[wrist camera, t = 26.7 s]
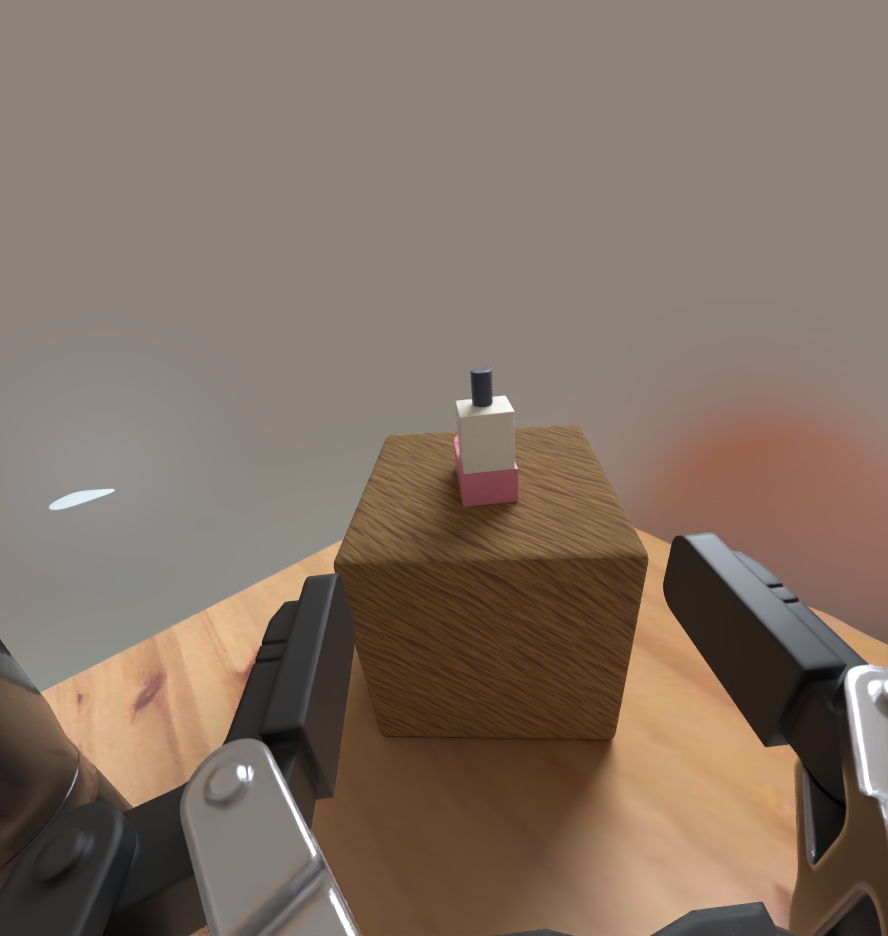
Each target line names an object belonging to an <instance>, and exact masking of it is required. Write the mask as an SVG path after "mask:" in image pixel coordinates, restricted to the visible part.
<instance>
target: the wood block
mask: <svg viewBox="0 0 888 936" xmlns="http://www.w3.org/2000/svg"><path fill="white" fill-rule="evenodd" d="M457 435H458V432H443V433H426V434H425V433H424V434H407V435H406V434H405V435H390V436H388V437H387V438H386V440H385V442H384V445H383V447H382V450H381V452H380V454H379V456H378V459H377V461H376V464H375V466H374V468H373V471H372V473H371V476H370V478H369V480H368V483H367V485H366V487H365V490H364V492H363V494H362V497H361V499H360V502H359V504H358V506H357V509H356V511H355V513H354V516H353V518H352V520H351V523H350V525H349V528H348V530H347V532H346V535H345V537H344V539H343V542H342V544H341V547H340V549H339V551H338V554H337V556H336V558H335V561H334V570H335V573H340V574H341V576H342V578H343V582H344V585H345V589H346V593H347V596H348V600H349V604H350V607H351V611H352V615H353V619H354V626H355V645H356V648H357V652H358V655H359V659H360V662H361V666H362V669H363V673H364V677H365V680H366V684H367V687H368V691H369V694H370V698H371V701H372V705H373V708H374V712H375V716H376V719H377V723H378V726H379V730H380V732H381V734H382V735H385V736H430V737H491V738H553V739H612V738H614V736H615V733H616V728H617V723H618V718H619V712H620V707H621V702H622V697H623V692H624V686H625V681H626V676H627V671H628V665H629V660H630V655H631V650H632V644H633V639H634V634H635V629H636V624H637V618H638V613H639V608H640V603H641V597H642V592H643V587H644V582H645V576H646V571H647V566H648V554H647V552H646V550H645V548H644V546H643V544H642V542H641V540H640V539H639V537H638V535H637V533H636V531H635V529H634V527H633V526H632V524H631V522H630V520H629V518H628V516H627V514H626V512H625V510H624V508H623V507H622V505H621V503H620V501H619V499H618V497H617V495H616V493H615V492H614V490H613V488H612V486H611V484H610V482H609V480H608V478H607V476H606V475H605V473H604V471H603V469H602V467H601V465H600V463H599V461H598V460H597V458H596V456H595V454H594V452H593V450H592V448H591V447H590V445H589V443H588V441H587V439H586V437H585V435H584V433H583V432H582V429H581V428H580V427H579V426H575V425H573V426H553V427H534V428H516V429H515V463H516V465H517V467H518V501H515V502H506V503H497V504H488V505H479V506H470V507H463V504H462V499H461V493H460V488H459V483H458V477H457V472H456V461H455V449H454V438H455V437H456V436H457Z"/></svg>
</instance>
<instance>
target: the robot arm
mask: <svg viewBox="0 0 888 936" xmlns="http://www.w3.org/2000/svg"><path fill="white" fill-rule="evenodd" d="M663 591H664V596H665V599H666V602H667V604H668V606H669V608H670V610H671V611H672V613H673V614H674V616H675V617H676V619H677V620H678V622H679V623H680V624H681V626H682V627H683V629H684V630H685V632H686V633H687V635H688V636H689V638H690V639H691V640H692V642H693V643H694V645H695V646H696V648H697V649H698V651H699V652H700V653H701V655H702V656H703V658H704V659H705V661H706V662H707V664H708V665H709V666H710V668H711V669H712V671H713V672H714V674H715V675H716V677H717V678H718V680H719V681H720V682H721V684H722V685H723V687H724V688H725V690H726V691H727V693H728V694H729V695H730V697H731V698H732V700H733V701H734V703H735V704H736V706H737V707H738V709H739V710H740V711H741V713H742V714H743V716H744V717H745V719H746V720H747V722H748V723H749V724H750V726H751V727H752V729H753V730H754V732H755V733H756V735H757V736H758V738H759V739H760V740H761V742H762V743H763V745H764V746H765V747H771V746H779V745H788V744H790V746H791V747H792V748H793V750H794V751H795V752H796V754H797V755H798V757H797V759H796V762H795V796H796V824H797V852H798V873H797V881H796V886H795V889H794V892H793V896H792V901H791V907H790V917H789V930H786V929H784V928H781V927H778V926H775V925H774V923H773V921H772V919H771V917H770V915H769V913H768V911H767V909H766V908H765V906H764V904H763V902H756V903H748V904H740V905H732V906H724V907H716V908H708V909H701V910H693V911H691V912H689V913H687V914H686V915H684V916H682V917H681V918H679V919H677V920H676V921H674V922H672V923H671V924H669V925H667V926H666V927H664V928H662V929H661V930H659V931H657V932H656V933H654V934H652V935H651V936H888V668H886V667H881V666H876V665H869V664H868V663H867V662H866V661H865V660H864V659H863V658H861V657H860V656H859V655H858V654H857V653H856V652H855V651H854V650H853V649H852V648H851V647H850V646H849V645H848V644H847V643H845V642H844V641H843V640H842V639H841V638H840V637H839V636H838V635H837V634H836V633H835V632H834V631H833V630H832V629H831V628H830V627H828V626H827V625H826V624H825V623H824V622H823V621H822V620H821V619H820V618H819V617H818V616H817V615H816V614H815V613H814V612H813V611H811V610H810V609H809V608H808V607H807V606H806V605H805V604H804V603H803V602H799V600H798V597H796V596H795V595H794V594H793V593H792V592H791V591H790V590H789V589H788V588H787V587H783V585H782V582H781V581H780V580H778V579H777V578H776V577H775V576H774V575H773V574H772V573H771V572H770V571H769V570H768V569H767V568H766V567H765V566H764V565H762V564H760V563H758V562H757V561H755V560H753V559H751V558H750V557H748V556H746V555H744V554H742V553H741V552H739V551H737V552H733V551H732V550H731V549H729V547H728V546H727V545H726V544H725V543H724V542H723V541H722V540H720V538H719V537H717V536H716V535H715V534H713V533H710V532H706V533H698V534H689V535H680V536H676V537H675V538H674V540H673V542H672V545H671V550H670V555H669V559H668V564H667V568H666V573H665V577H664V582H663ZM354 644H355V626H354V619H353V615H352V611H351V607H350V604H349V600H348V596H347V593H346V589H345V585H344V582H343V578H342V576H341V574H340V573H335V574H326V575H317V576H309V577H307V578H306V580H305V582H304V585H303V589H302V592H301V595H300V598H299V600H297V601H289V602H285V603H284V604H283V605H282V606H281V608H280V609H279V610H278V611H277V612H276V614H275V615H274V616H273V617H272V619H271V620H270V621H269V624H268V627H267V629H266V632H265V635H264V637H263V640H262V646H260V648H259V651H258V654H257V656H256V659H255V660H256V663H255V664H254V665H253V667H252V670H251V673H250V675H249V678H248V681H247V684H246V686H245V689H244V692H243V694H242V697H241V700H240V703H239V705H238V708H237V711H236V713H235V716H234V719H233V722H232V724H231V727H230V730H229V732H228V735H227V737H226V739H225V742H224V743H223V745H222V747H220V748H219V749H217V750H215V751H214V752H213V753H212V754H210V755H209V756H208V757H207V758H206V759H205V760H204V761H203V762H202V763H201V764H200V765H199V766H198V768H197V769H196V770H195V772H194V773H193V774H192V776H191V777H190V779H189V781H188V782H186V783H185V784H183V785H182V786H180V787H178V788H176V789H174V790H172V791H170V792H167V793H165V794H163V795H161V796H159V797H156V798H154V799H152V800H150V801H148V802H145V803H143V804H141V805H139V806H137V807H134V808H133V807H132V806H131V805H130V804H129V802H128V801H127V800H126V799H125V798H124V797H123V796H122V795H121V794H120V793H119V792H118V791H117V789H116V788H115V787H114V786H113V785H112V784H111V783H110V782H109V781H108V780H107V779H106V777H105V776H104V775H103V774H102V773H101V772H100V771H99V770H98V769H97V768H96V767H95V766H94V764H92V763H91V762H90V761H89V759H88V758H87V757H86V756H85V755H84V754H83V753H82V752H81V751H80V750H79V749H78V748H77V746H76V745H75V744H74V743H73V742H72V741H71V740H70V739H69V738H68V737H67V735H66V734H65V733H64V731H63V729H62V727H61V725H60V723H59V721H58V720H57V718H56V716H55V714H54V712H53V710H52V708H51V707H50V705H49V703H48V702H47V701H46V699H45V698H44V697H43V696H42V694H41V693H40V692H39V691H38V690H37V688H36V687H35V686H34V685H33V683H32V682H31V681H30V679H29V678H28V677H27V676H26V674H25V673H24V672H23V670H22V669H21V668H20V666H19V665H18V664H17V662H16V661H15V659H14V658H13V657H12V655H11V654H10V652H9V651H8V650H7V648H6V647H5V645H4V644H3V643H2V641H1V640H0V936H189V935H190V934H192V933H194V932H196V931H198V930H199V929H201V928H203V927H205V926H207V925H208V928H209V932H210V936H363V934H362V932H361V930H360V928H359V926H358V924H357V922H356V920H355V918H354V916H353V914H352V912H351V910H350V908H349V906H348V904H347V902H346V900H345V898H344V895H343V893H342V891H341V889H340V887H339V885H338V883H337V881H336V879H335V877H334V875H333V873H332V871H331V869H330V867H329V865H328V863H327V861H326V859H325V857H324V854H323V852H322V850H321V848H320V846H319V844H318V842H317V840H316V838H315V836H314V834H313V832H312V830H311V825H312V819H313V813H314V807H315V801H316V799H324V798H332V797H333V794H334V787H335V780H336V773H337V766H338V759H339V751H340V744H341V737H342V730H343V723H344V716H345V709H346V701H347V694H348V687H349V680H350V673H351V666H352V659H353V651H354ZM496 936H572V935H568V934H564V933H560V932H556V931H552V930H547V929H543V930H536V931H528V932H520V933H512V934H504V935H496Z"/></svg>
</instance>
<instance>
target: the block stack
mask: <svg viewBox="0 0 888 936" xmlns="http://www.w3.org/2000/svg"><path fill="white" fill-rule="evenodd" d="M471 389H472V399H470V400H461V401H456V416H457V429H458V435H457V436H456V437H455V438H454V449H455V461H456V472H457V477H458V483H459V488H460V493H461V499H462V504H463V507H470V506H479V505H488V504H497V503H506V502H515V501H518V467H517V465H516V463H515V425H514V424H515V418H514V410H513V409H512V407H511V405H510V403H509V401H508V400H507V398H506V396H499V397H493V393H492V370H491V369H490V368H487V367H479V368H474V369H472V370H471Z"/></svg>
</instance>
